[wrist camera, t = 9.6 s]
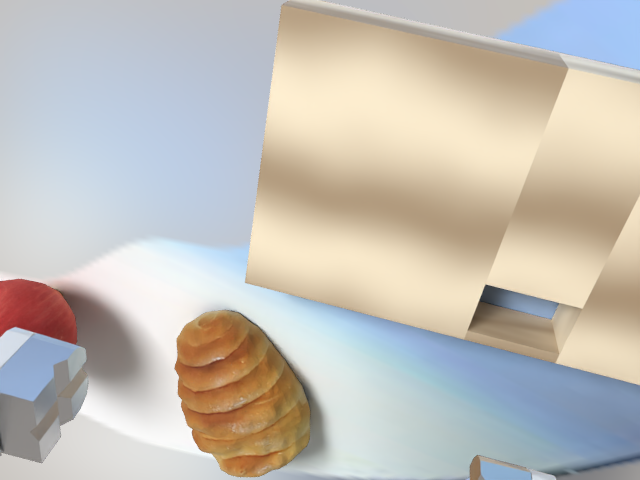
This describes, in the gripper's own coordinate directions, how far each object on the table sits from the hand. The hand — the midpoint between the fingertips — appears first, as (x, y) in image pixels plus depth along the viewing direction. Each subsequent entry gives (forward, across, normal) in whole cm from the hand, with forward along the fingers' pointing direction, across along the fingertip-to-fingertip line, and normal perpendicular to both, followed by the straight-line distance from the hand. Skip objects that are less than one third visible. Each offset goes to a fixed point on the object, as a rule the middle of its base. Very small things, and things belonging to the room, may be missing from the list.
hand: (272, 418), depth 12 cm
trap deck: (+15, -7, +1) cm, 17 cm away
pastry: (+15, +4, +16) cm, 23 cm away
